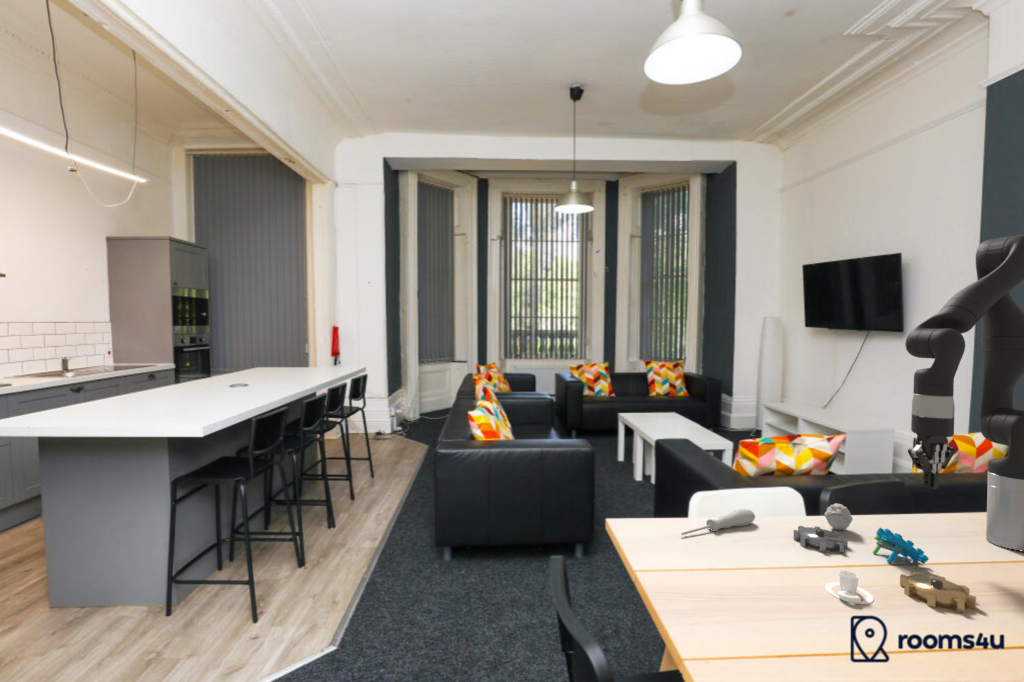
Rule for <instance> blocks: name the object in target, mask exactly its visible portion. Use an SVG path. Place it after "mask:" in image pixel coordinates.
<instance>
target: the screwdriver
mask: <svg viewBox="0 0 1024 682" xmlns="http://www.w3.org/2000/svg"><path fill="white" fill-rule="evenodd" d="M755 519H756V516H755V513H754V512H753V511H752V510H750V509H747V508H740V509H735V510H733V511H732V512H729V513H728V514H725V515H723V516H720V517H718V518H716V519H712V518H710V519H707V520H706V523H705V524H706V525H705V526H702V527H698V528H694V529H690V530H687V531H683V532H681V533H680V535H682V536H684V535H688V534H692V533H694V532H695V533H696V532H698V531H702V530H705V529H708V528H710V529H712V530H714V531H716V532H718V530H720V529H728V527H729V528H732V526H737V527H746V526H748V525H750V524H751V523H753V522H754V521H755ZM745 525H746V526H745Z"/></svg>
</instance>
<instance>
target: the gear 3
mask: <svg viewBox="0 0 1024 682" xmlns="http://www.w3.org/2000/svg"><path fill="white" fill-rule="evenodd" d="M899 586H900V587H903V588H904V591H903V592H904V593H903V594H905V595H906V596H907V597H912V598H914V597H915V598H917V600H920V601H923V602H924V603H926V606H928V607H931V608H934V609H936V607H939V608H945V609H949V608H952V609H951V610H953V609H954V610H953V611H954V612H956V611H957V612H956V613H959V612H963V613H964V614H965V609H966V608H969V609H973V610H976V609H977V596H975V595H972V594H970V592H971V591H970V588H969V587H968V586H966V585H960V584H959V585H958V584H956V583H954V582H952V581H950V580H947V579H946V577H944V576H941V575H937V576H933V575H928V574H922V573H921V572H919V571H911V574H910V575H906V574H902V573H901V574H900V576H899ZM963 613H962V614H963Z"/></svg>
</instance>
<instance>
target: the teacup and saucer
mask: <svg viewBox="0 0 1024 682" xmlns="http://www.w3.org/2000/svg"><path fill="white" fill-rule="evenodd" d="M838 576H839V577H838V579H839V581H832V582H828V583H826V584H825V586H824V588H825V590H826V591H827V592H828V593H829V594H830V595H831V596H832V597H835V598H836V599H839V600H842V601H844V602H846V603H850V604H857V605H868V604H869V605H870V604H872V603H873V602H874V601H875V598H874V595H872V594H871V593H870V592H869V591H867V589H864V588H862V587H859V586H858V585H859V576H858V574H856V573H854V572H851V571H847V570H840V571H839V572H838ZM835 586H839V589H840V590H839V591H838V592H837V594H836V593H835V592H834V591H833V590H832V588H833V587H835ZM858 591H859V592H861V593H862V594H864V595H865V596H866V599H865V600H862V598H861V597H860V596H859V595H858V594H857V592H858Z"/></svg>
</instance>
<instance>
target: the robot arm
mask: <svg viewBox="0 0 1024 682" xmlns="http://www.w3.org/2000/svg"><path fill="white" fill-rule="evenodd" d="M975 269H976V270H975V271H976V277H977V280H976V281H974V282H972V283H970V284H969V285H967V286H965V287H964V288H962V289H960V290H959V291H958V292H956V293H955V294H954V295H953V296H951V298H950V299H949V300H948V301H947V302H946V303H945V304H944V305H943V306H942V307H941V309H940V310H939V311H938V312H937V313H935V314H934V315H932V316H930V317H929V318H927V319H926V320H924V321H922V322H921V323H920V324H918V325H917V326H916V327H914V328H913V329H912V330H911V331H910V332H909V333H908V335H907V336H906V339H905V343H904V345H905V349H906V351H907V352H908V354H909V355H911V356H913V357H915V358H918V359H919V358H920V359H932V360H933V359H934V361H933V362H932V365H931V366H930V367H927V368H920V369H917V370H916V371H915V372H914V374H913V392H912V393H913V396H912V399H911V400H912V401H911V420H910V422H911V423H910V425H911V428H910V429H911V432H912V433H914V434H916V439H915V443H914V444H915V446H914V447H913V448H908V449H907V454H908V456H909V457H910V458H911V461H912V462H913V464H914V466H915V468H916V469H918V470H921V471H923V481H922V482H923V487H925V488H926V489H931V490H936V489H939V479H940V478H939V477H940V476H939V474H941V473H942V470H946V469H947V467H948V466H949V463H950V462H951V460H952V457H953V456H954V454H955V452H956V447H954V446H950V445H949V439H948V438H951V437H954V435H955V412H956V411H955V407H956V406H955V400H954V391H955V389H954V383H955V376H956V374H957V371H958V369H959V366H960V363H961V360H962V359H963V356H964V353H965V350H966V341H965V337H964V336H963V335H962V334H965V333H968V332H970V330H972V329H973V328H974V326H975V325H976V324H978V322H979V321H980V320H981V351H982V352H981V353H982V390H981V398H980V399H981V400H980V407H979V415H978V416H979V418H978V419H979V421H978V423H979V429H980V433H981V435H982V436H983V438H985V439H986V440H987V441H988V442H991V443H995V444H998V445H1003V446H1007V447H1008V453H1007V455H1006V456H1004V457H1000V458H999V457H998V458H997V457H996V458H991V459H989V460H988V462H987V493H986V494H987V496H986V497H987V498H986V528H985V529H986V531H985V532H986V534H985V535H986V536H985V538H986V541H988V542H990V543H991V544H993V545H995V546H998V547H1001V546H1002V547H1001V548H1004V547H1005V548H1004V549H1007V548H1009V549H1008V550H1011V549H1015V550H1014V551H1016V550H1022V551H1024V410H1023V409H1017V408H1014V394H1015V393H1014V392H1015V387H1016V385H1017V383H1018V382H1019V380H1020V379H1021V378H1022V376H1024V310H1023V309H1021V307H1020V306H1019V305H1018V304H1017V303H1016V302H1015V300H1014V299H1013V297H1012V296H1011V293H1010V291H1012V290H1013V289H1014V288H1015V287H1016V286H1018V285H1019V284H1020V283H1021V282H1023V281H1024V233H1021V234H1015V235H1010V236H1003V237H997V238H992V239H987V240H983V241H982V242H981V243H980V244H978V247H977V249H976V252H975ZM1022 551H1021V552H1022Z"/></svg>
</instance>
